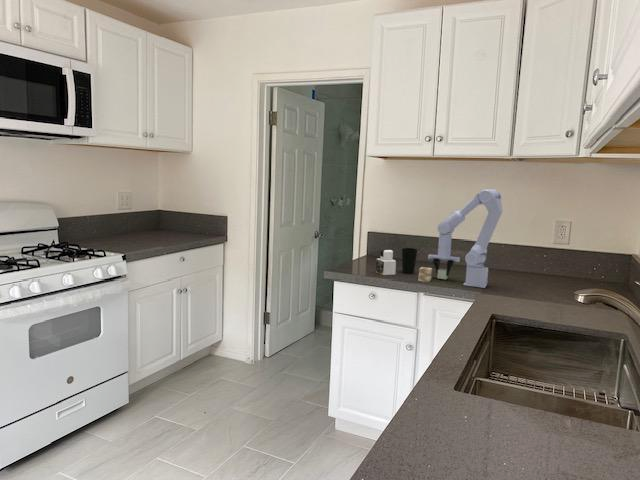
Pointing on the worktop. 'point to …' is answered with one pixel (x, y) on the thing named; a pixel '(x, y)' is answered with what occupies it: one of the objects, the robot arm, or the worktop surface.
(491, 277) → the worktop surface
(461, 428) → the worktop surface
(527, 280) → the worktop surface
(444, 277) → the green cube
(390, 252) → the medicine bottle
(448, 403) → the worktop surface
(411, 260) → the cup
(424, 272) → the upper slab
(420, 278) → the lower slab
